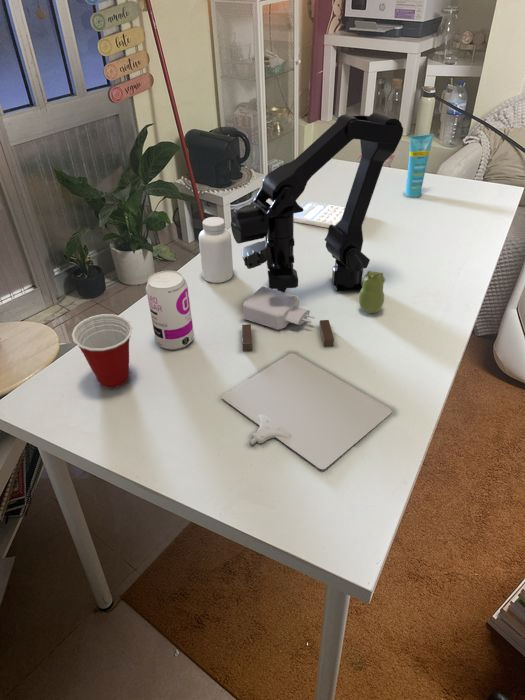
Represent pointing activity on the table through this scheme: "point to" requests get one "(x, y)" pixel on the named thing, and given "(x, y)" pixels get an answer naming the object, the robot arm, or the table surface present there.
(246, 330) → the bay
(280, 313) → the charger
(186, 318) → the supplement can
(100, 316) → the plastic cup
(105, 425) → the table surface
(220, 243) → the pill bottle
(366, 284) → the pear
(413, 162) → the tube
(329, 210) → the calculator
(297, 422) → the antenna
